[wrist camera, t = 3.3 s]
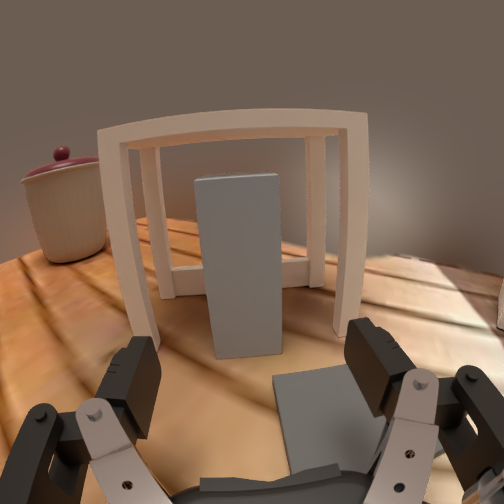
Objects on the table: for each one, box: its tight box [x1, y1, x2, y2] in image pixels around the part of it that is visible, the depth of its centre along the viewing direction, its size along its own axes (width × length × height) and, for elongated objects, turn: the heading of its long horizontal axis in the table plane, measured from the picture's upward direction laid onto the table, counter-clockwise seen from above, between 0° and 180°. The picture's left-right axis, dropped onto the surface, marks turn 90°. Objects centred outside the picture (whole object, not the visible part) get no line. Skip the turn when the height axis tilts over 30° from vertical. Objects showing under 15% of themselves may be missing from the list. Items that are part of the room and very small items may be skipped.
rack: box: [97, 108, 369, 352], centre depth 24 cm, size 11×18×17 cm, turn 94°
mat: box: [272, 364, 445, 475], centre depth 13 cm, size 9×9×1 cm
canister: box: [20, 146, 106, 263], centre depth 44 cm, size 18×18×21 cm
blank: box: [194, 171, 282, 359], centre depth 21 cm, size 5×5×13 cm
